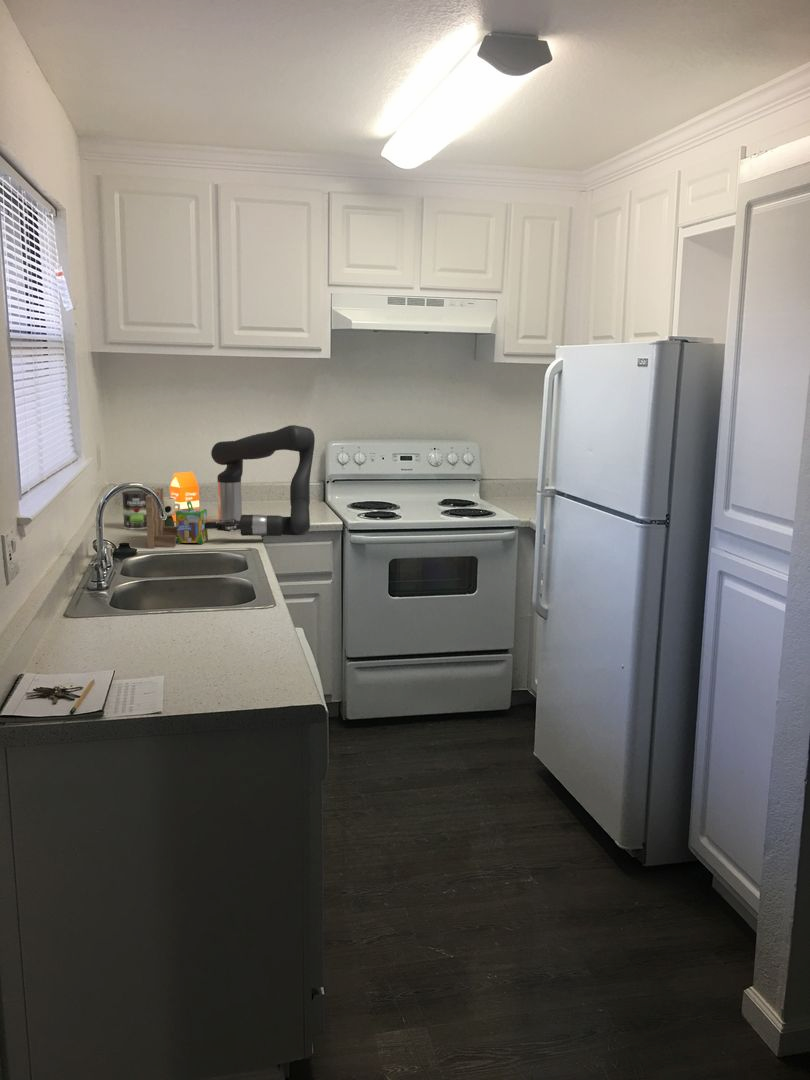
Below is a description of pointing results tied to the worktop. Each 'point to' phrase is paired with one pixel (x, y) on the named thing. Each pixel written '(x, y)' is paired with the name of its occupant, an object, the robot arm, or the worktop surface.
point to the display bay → (158, 524)
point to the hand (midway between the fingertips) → (205, 525)
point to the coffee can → (134, 510)
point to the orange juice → (184, 490)
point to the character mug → (170, 510)
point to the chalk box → (191, 525)
